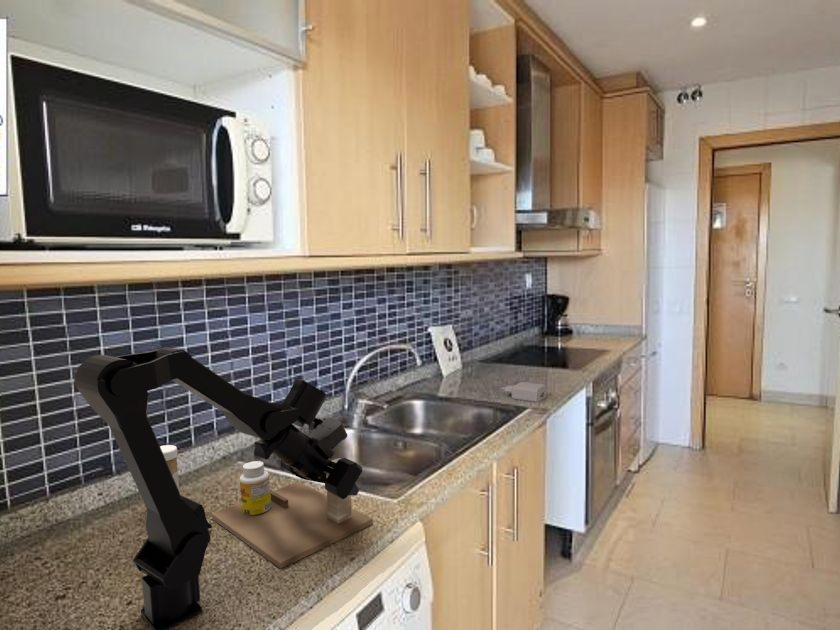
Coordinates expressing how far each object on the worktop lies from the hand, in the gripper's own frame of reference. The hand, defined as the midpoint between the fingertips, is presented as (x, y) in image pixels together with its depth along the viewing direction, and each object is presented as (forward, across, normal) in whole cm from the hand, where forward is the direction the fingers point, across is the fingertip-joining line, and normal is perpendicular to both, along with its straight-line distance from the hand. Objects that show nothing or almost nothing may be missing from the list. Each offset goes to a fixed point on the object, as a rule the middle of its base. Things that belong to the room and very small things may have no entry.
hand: (345, 487), depth 104 cm
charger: (+74, +25, -64) cm, 101 cm away
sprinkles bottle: (-11, +29, +21) cm, 37 cm away
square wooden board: (-1, +8, +10) cm, 13 cm away
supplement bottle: (-3, +15, +12) cm, 20 cm away
